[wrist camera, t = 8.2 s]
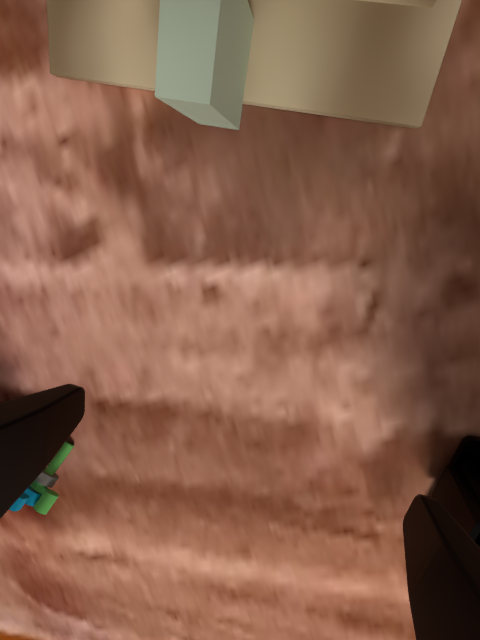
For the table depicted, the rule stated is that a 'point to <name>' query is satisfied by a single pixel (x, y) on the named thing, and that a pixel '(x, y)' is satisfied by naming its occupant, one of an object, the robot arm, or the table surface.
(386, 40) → the maple jig
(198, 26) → the sage board
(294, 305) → the table surface
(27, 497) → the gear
